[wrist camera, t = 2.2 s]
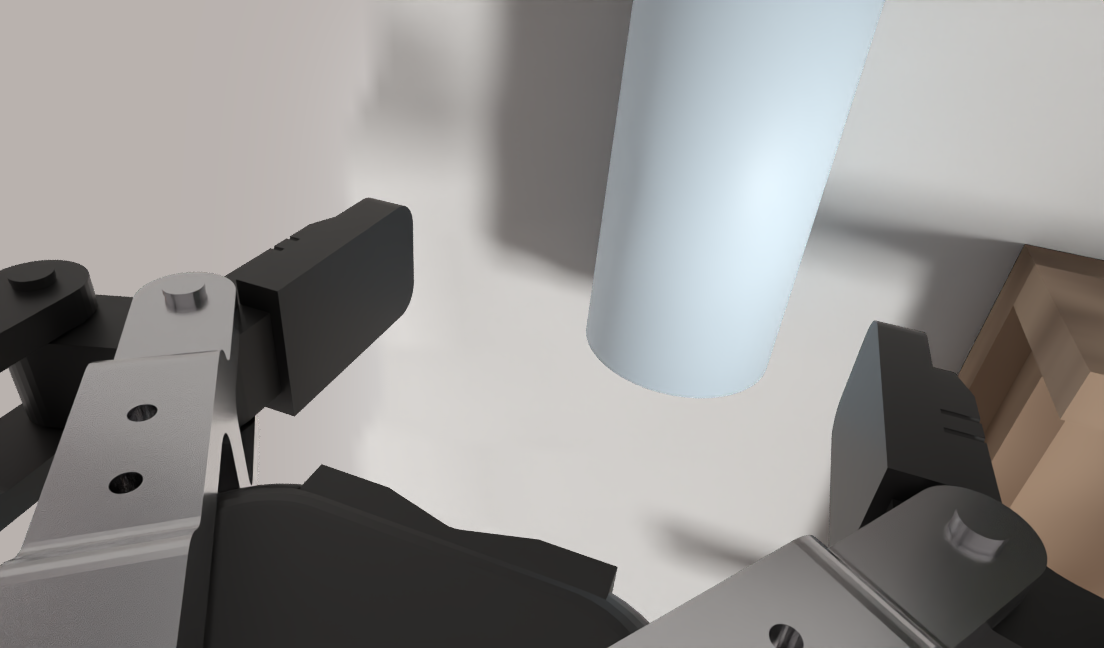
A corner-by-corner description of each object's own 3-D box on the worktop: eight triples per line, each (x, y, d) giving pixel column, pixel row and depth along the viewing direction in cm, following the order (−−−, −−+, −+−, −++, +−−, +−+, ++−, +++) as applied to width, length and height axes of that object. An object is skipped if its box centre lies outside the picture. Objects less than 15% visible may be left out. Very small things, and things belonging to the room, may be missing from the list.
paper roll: (734, 304, 23) (791, 409, 19) (576, 297, 23) (596, 404, 18) (837, -67, 17) (952, -37, 13) (625, -88, 17) (674, -65, 12)
